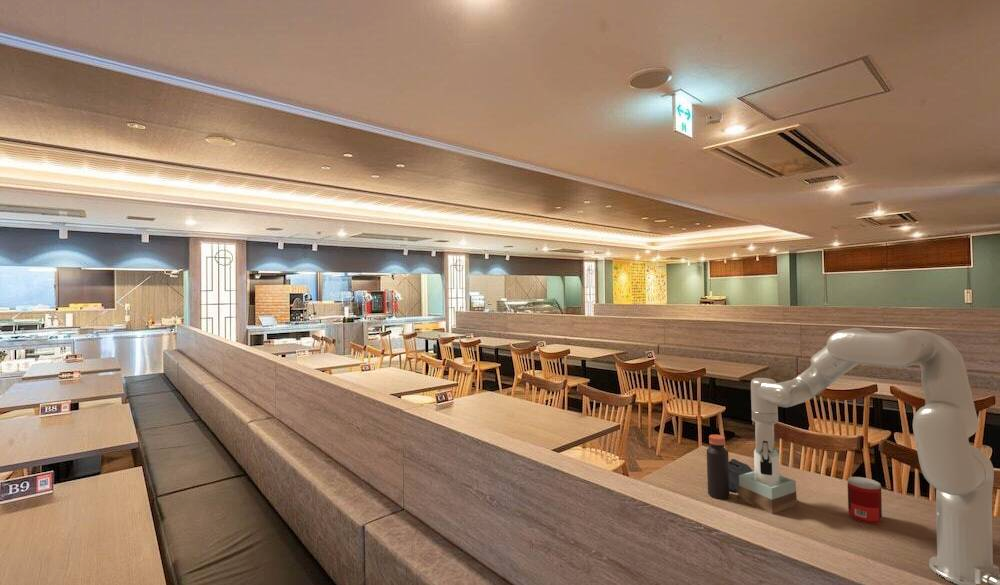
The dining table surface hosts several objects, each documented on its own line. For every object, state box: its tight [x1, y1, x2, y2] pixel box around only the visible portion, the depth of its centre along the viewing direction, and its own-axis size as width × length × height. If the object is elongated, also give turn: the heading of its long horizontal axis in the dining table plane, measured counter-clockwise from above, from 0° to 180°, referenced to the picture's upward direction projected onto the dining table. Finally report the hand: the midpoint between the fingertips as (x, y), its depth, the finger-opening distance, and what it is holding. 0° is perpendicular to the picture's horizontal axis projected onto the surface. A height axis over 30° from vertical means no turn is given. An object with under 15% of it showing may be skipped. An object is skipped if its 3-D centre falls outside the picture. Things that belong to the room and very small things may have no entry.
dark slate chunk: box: [729, 458, 754, 494], centre depth 169 cm, size 15×22×5 cm
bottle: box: [706, 434, 731, 500], centre depth 158 cm, size 7×7×20 cm
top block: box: [739, 470, 797, 499], centre depth 151 cm, size 12×12×4 cm
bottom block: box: [737, 485, 798, 515], centre depth 152 cm, size 12×12×5 cm
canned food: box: [847, 476, 883, 525], centre depth 139 cm, size 8×8×11 cm
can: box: [753, 446, 780, 487], centre depth 152 cm, size 7×7×12 cm
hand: (766, 469), depth 152 cm, fingers open, 8 cm apart
